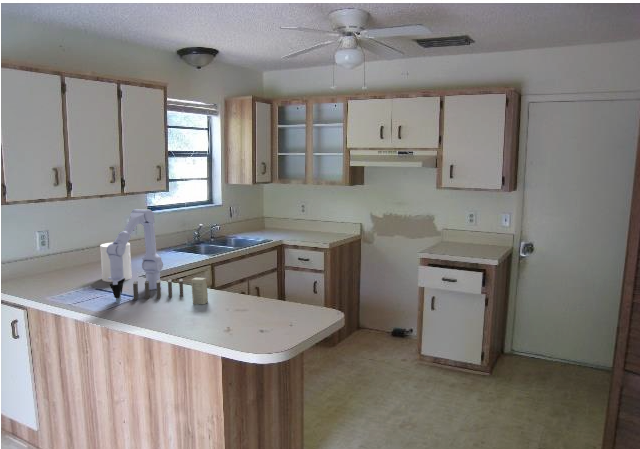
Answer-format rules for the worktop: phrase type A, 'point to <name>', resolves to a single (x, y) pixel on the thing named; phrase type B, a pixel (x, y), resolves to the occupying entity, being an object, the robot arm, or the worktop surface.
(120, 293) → the domino
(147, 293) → the domino
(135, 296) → the domino
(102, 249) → the canister
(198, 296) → the skincare box
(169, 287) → the domino
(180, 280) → the domino
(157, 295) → the domino
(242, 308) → the worktop surface
